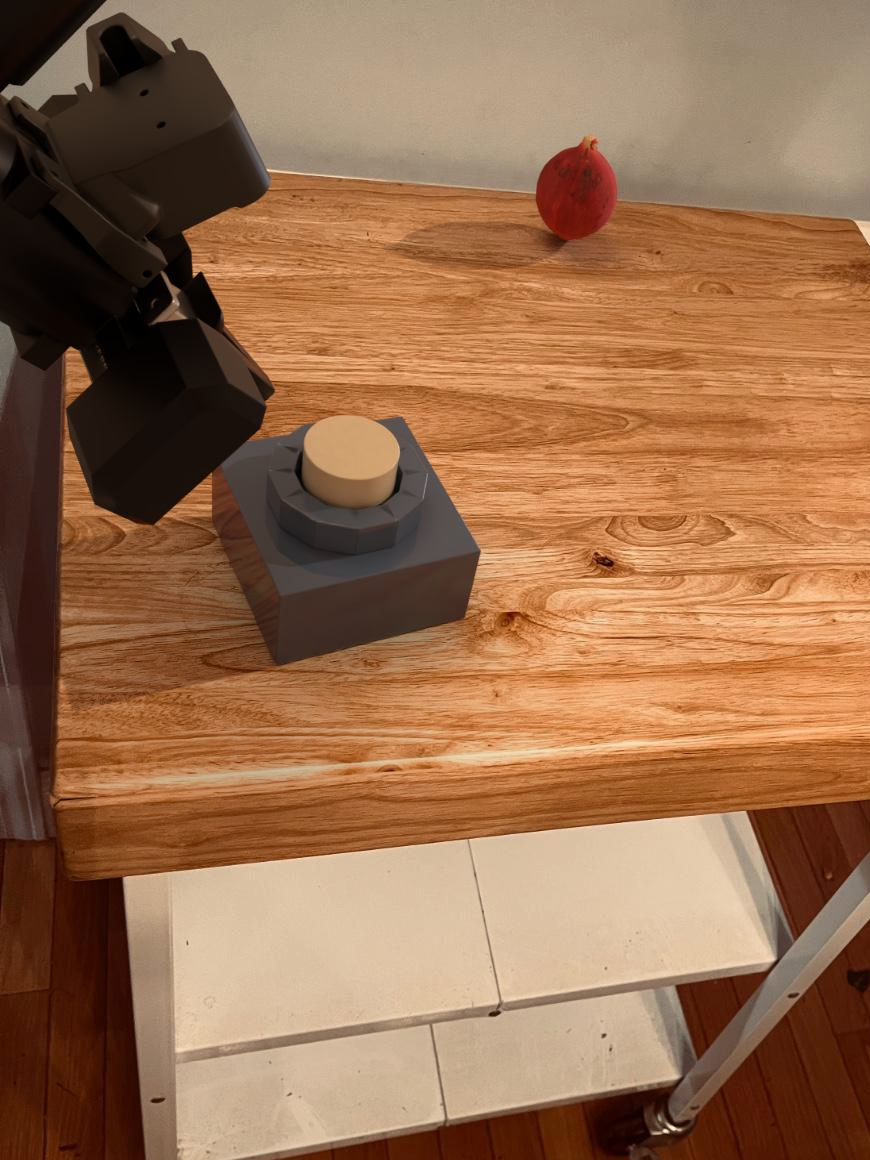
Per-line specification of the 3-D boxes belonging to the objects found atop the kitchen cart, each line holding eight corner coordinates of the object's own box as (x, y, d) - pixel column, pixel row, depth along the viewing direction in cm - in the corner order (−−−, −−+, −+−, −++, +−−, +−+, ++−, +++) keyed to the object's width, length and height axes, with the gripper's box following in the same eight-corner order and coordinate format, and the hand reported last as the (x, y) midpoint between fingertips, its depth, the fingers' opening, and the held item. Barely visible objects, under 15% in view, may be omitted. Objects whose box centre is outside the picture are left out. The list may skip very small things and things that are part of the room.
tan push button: (320, 518, 54) (323, 487, 53) (288, 454, 57) (290, 422, 55) (409, 501, 57) (414, 470, 55) (374, 439, 59) (379, 408, 57)
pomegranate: (602, 270, 86) (631, 169, 80) (524, 252, 85) (547, 148, 79) (604, 227, 89) (631, 127, 84) (529, 209, 88) (551, 107, 83)
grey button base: (275, 666, 57) (281, 569, 51) (211, 520, 62) (211, 417, 56) (465, 618, 61) (488, 524, 56) (391, 486, 66) (406, 389, 61)
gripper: (195, 160, 31) (502, 415, 44) (30, -142, 40) (325, 143, 53) (-87, 435, 33) (287, 599, 46) (-181, 87, 42) (152, 307, 56)
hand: (265, 393), depth 50 cm, fingers closed
